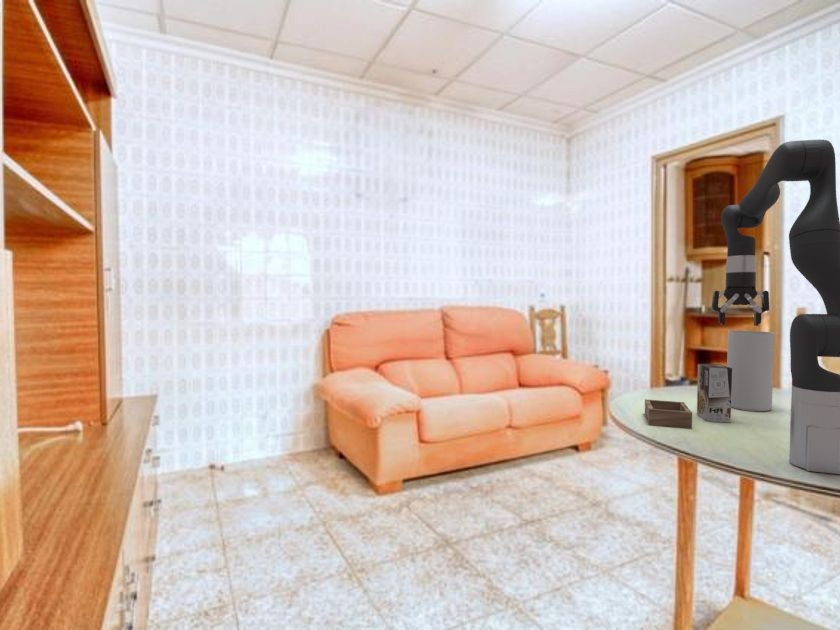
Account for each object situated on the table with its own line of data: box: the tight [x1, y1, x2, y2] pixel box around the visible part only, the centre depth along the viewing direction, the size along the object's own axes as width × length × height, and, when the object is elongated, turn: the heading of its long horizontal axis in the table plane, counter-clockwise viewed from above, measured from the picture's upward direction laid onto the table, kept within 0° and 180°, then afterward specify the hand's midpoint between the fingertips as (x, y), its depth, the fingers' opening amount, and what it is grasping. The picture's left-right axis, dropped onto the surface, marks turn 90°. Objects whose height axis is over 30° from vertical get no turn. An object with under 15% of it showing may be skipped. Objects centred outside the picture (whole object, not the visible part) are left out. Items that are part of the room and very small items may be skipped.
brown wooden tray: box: [644, 398, 693, 430], centre depth 141 cm, size 14×11×4 cm
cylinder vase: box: [726, 330, 775, 413], centre depth 157 cm, size 12×12×25 cm
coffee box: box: [696, 363, 732, 423], centre depth 143 cm, size 9×6×16 cm
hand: (739, 325), depth 143 cm, fingers open, 8 cm apart
